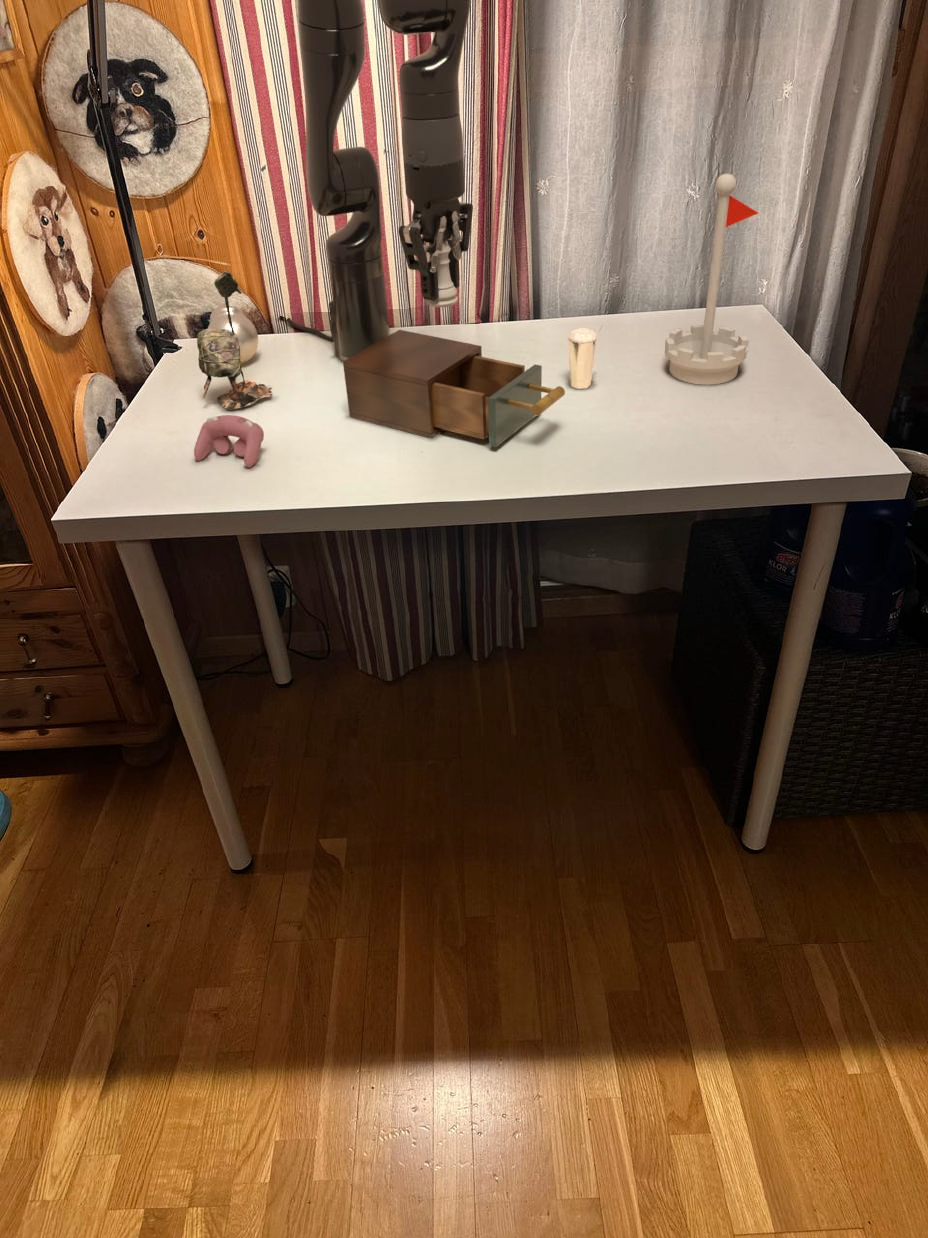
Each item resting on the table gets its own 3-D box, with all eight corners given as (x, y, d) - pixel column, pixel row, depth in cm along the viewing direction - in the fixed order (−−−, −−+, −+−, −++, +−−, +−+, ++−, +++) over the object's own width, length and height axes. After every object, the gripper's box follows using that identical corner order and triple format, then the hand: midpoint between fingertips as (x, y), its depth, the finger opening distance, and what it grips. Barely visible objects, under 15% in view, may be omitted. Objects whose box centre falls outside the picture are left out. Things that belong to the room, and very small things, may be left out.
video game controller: (266, 467, 136) (269, 419, 134) (249, 468, 131) (252, 418, 130) (208, 459, 138) (210, 412, 137) (190, 460, 134) (192, 411, 133)
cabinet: (483, 401, 147) (481, 345, 141) (431, 438, 137) (427, 380, 132) (404, 382, 154) (399, 329, 148) (349, 417, 144) (342, 361, 139)
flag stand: (655, 381, 150) (672, 182, 131) (672, 351, 159) (690, 161, 141) (737, 391, 146) (767, 186, 127) (749, 360, 155) (779, 165, 137)
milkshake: (598, 391, 148) (601, 330, 142) (565, 390, 149) (566, 329, 143) (600, 379, 151) (603, 319, 145) (568, 378, 152) (569, 318, 146)
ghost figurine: (266, 350, 168) (256, 295, 162) (258, 371, 161) (247, 314, 154) (216, 353, 168) (204, 298, 162) (206, 373, 161) (193, 317, 154)
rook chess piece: (463, 298, 127) (461, 238, 122) (449, 309, 123) (445, 248, 119) (434, 295, 128) (431, 235, 123) (419, 306, 125) (415, 244, 120)
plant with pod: (202, 396, 153) (173, 274, 141) (270, 385, 155) (247, 263, 143) (206, 416, 147) (176, 290, 135) (277, 404, 149) (254, 279, 137)
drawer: (574, 418, 138) (575, 372, 134) (530, 455, 130) (530, 407, 125) (462, 392, 148) (459, 348, 143) (413, 426, 139) (409, 380, 134)
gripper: (441, 141, 121) (448, 274, 131) (374, 165, 112) (387, 305, 122) (489, 146, 117) (492, 282, 128) (424, 170, 108) (433, 314, 119)
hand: (441, 292), depth 125 cm, fingers closed on rook chess piece, 4 cm apart
